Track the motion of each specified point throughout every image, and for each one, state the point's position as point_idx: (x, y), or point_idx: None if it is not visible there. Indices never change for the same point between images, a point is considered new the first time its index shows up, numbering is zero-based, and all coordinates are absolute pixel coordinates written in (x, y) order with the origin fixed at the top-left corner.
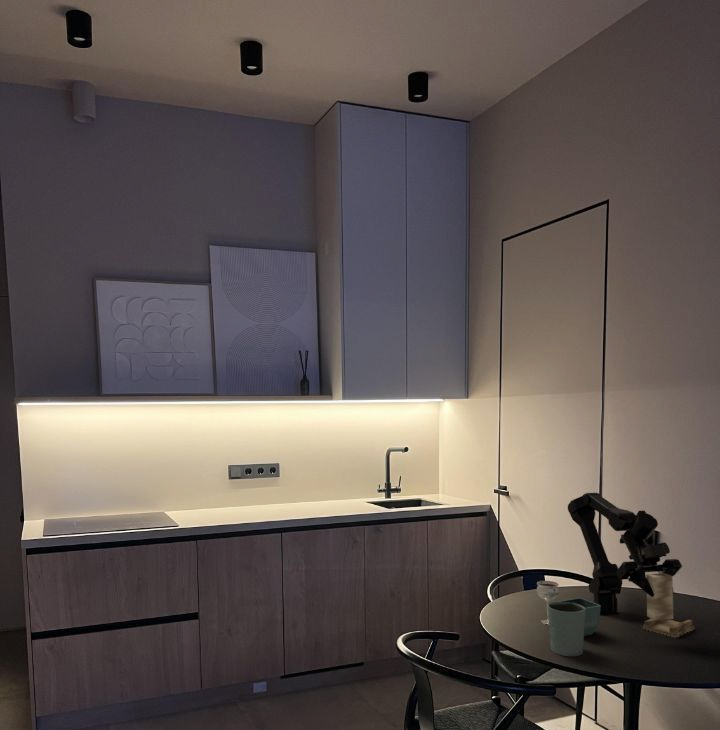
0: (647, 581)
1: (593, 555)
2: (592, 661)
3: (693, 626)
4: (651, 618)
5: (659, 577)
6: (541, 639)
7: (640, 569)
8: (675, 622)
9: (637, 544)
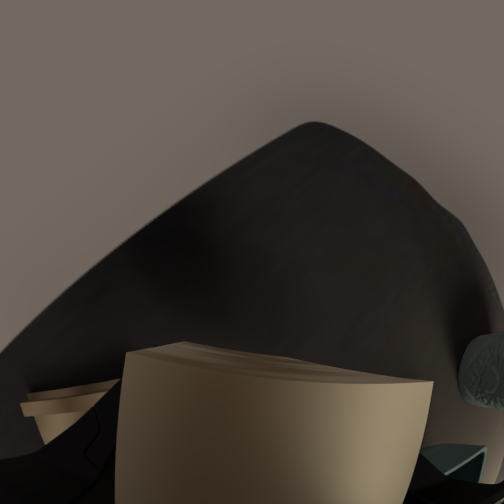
0: None
1: None
2: (470, 299)
3: (31, 393)
4: None
5: (366, 381)
6: (475, 438)
7: (498, 498)
8: None
9: None
